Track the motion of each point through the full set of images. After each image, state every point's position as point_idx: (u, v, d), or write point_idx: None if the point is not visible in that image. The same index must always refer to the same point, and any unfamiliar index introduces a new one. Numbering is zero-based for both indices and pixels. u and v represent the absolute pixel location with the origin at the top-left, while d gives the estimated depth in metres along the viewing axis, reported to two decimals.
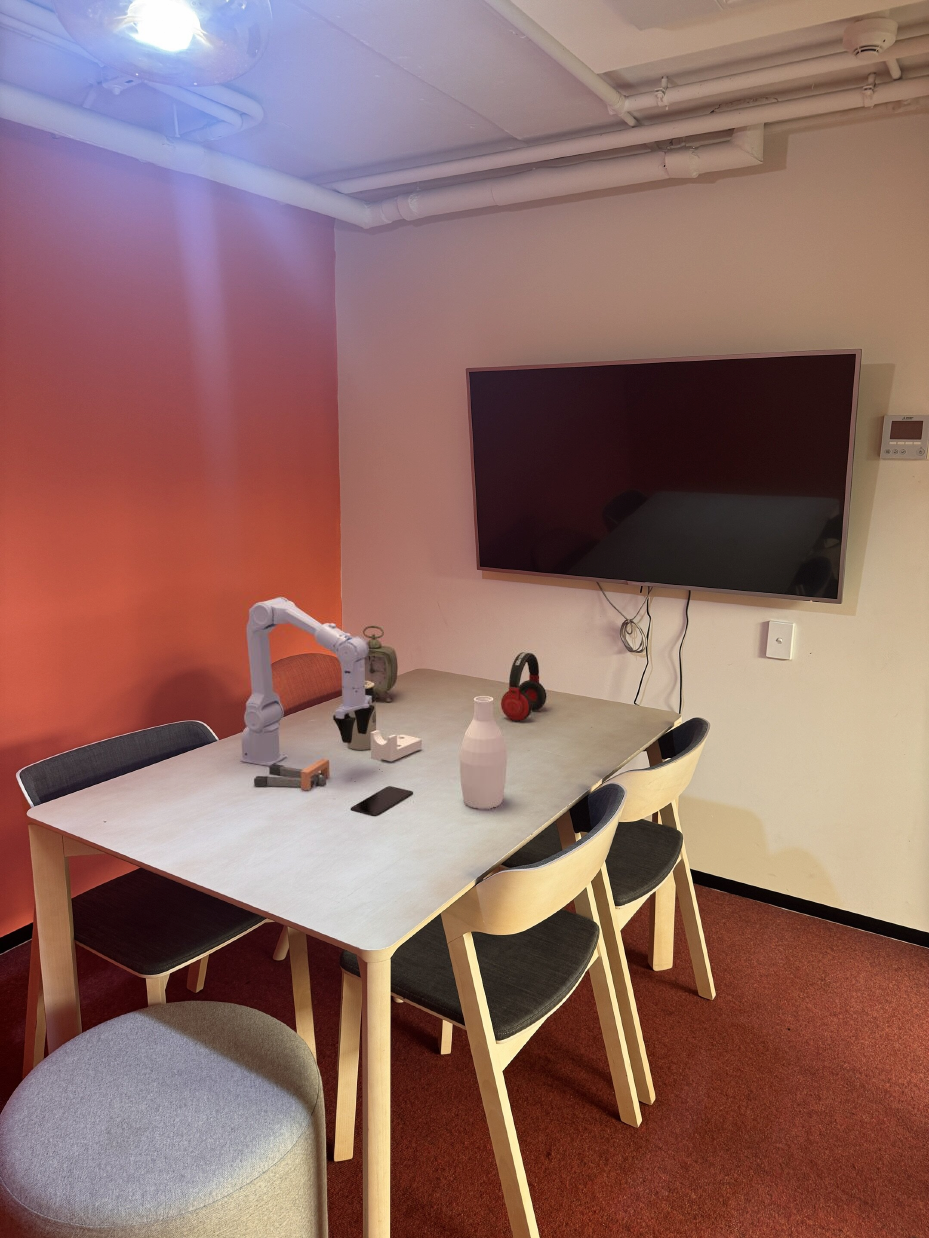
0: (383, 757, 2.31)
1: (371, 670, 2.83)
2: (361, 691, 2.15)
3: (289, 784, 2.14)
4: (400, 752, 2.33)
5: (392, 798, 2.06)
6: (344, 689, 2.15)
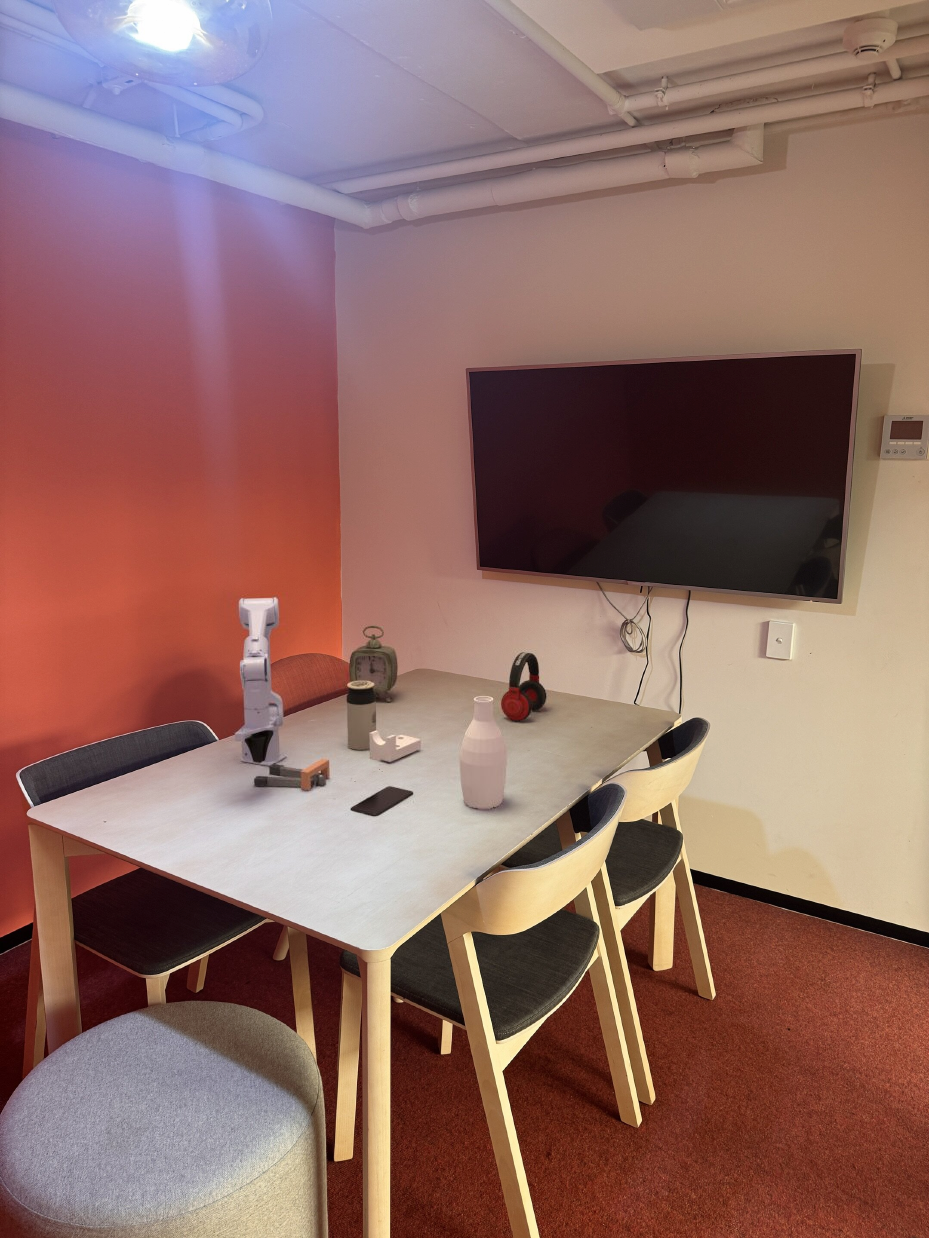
0: (382, 758, 2.31)
1: (371, 670, 2.83)
2: (264, 712, 2.04)
3: (289, 784, 2.14)
4: (399, 753, 2.32)
5: (392, 798, 2.06)
6: (246, 710, 2.03)
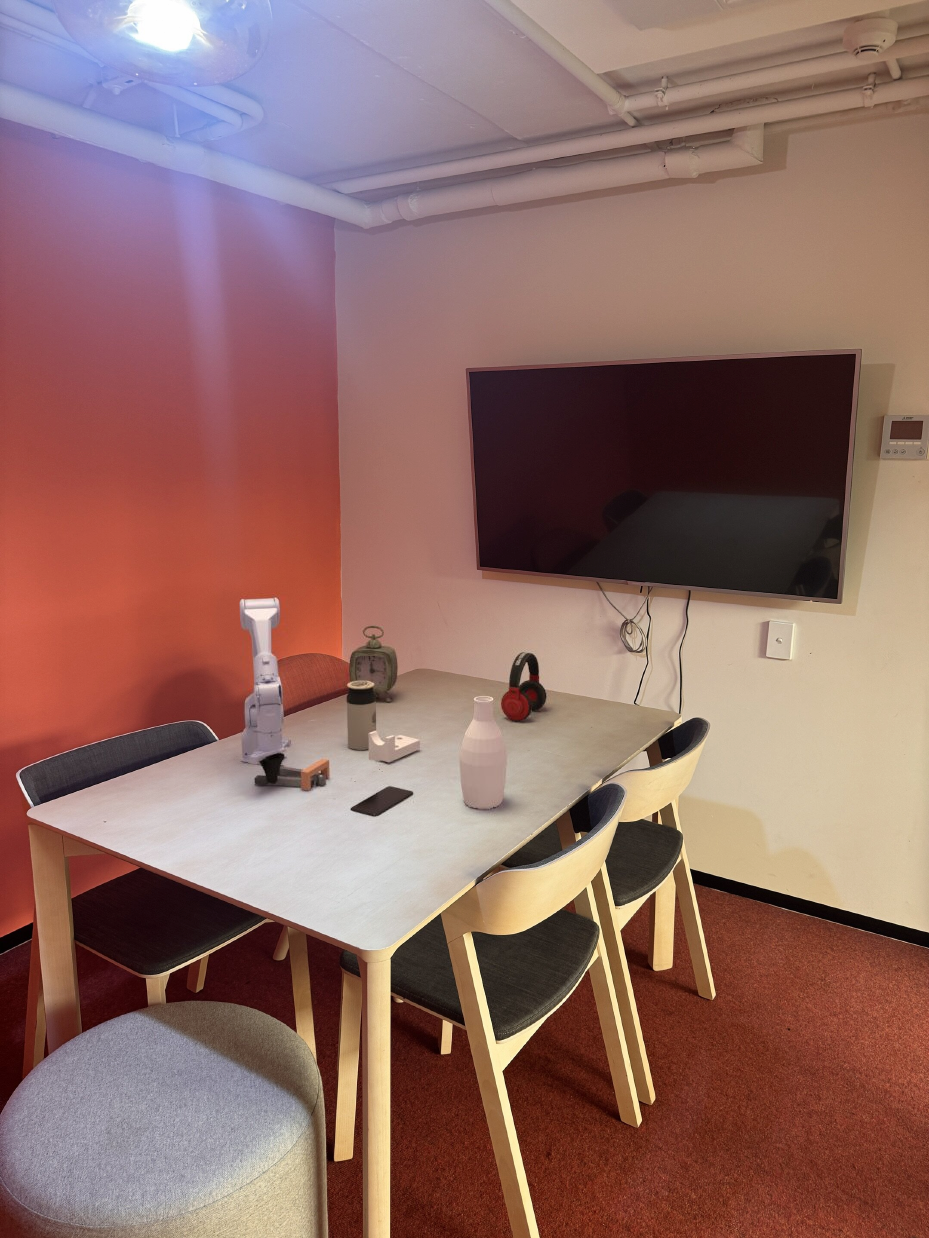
0: (381, 758, 2.31)
1: (371, 670, 2.83)
2: (277, 735, 2.09)
3: (289, 784, 2.14)
4: (398, 753, 2.32)
5: (392, 798, 2.06)
6: (259, 733, 2.09)
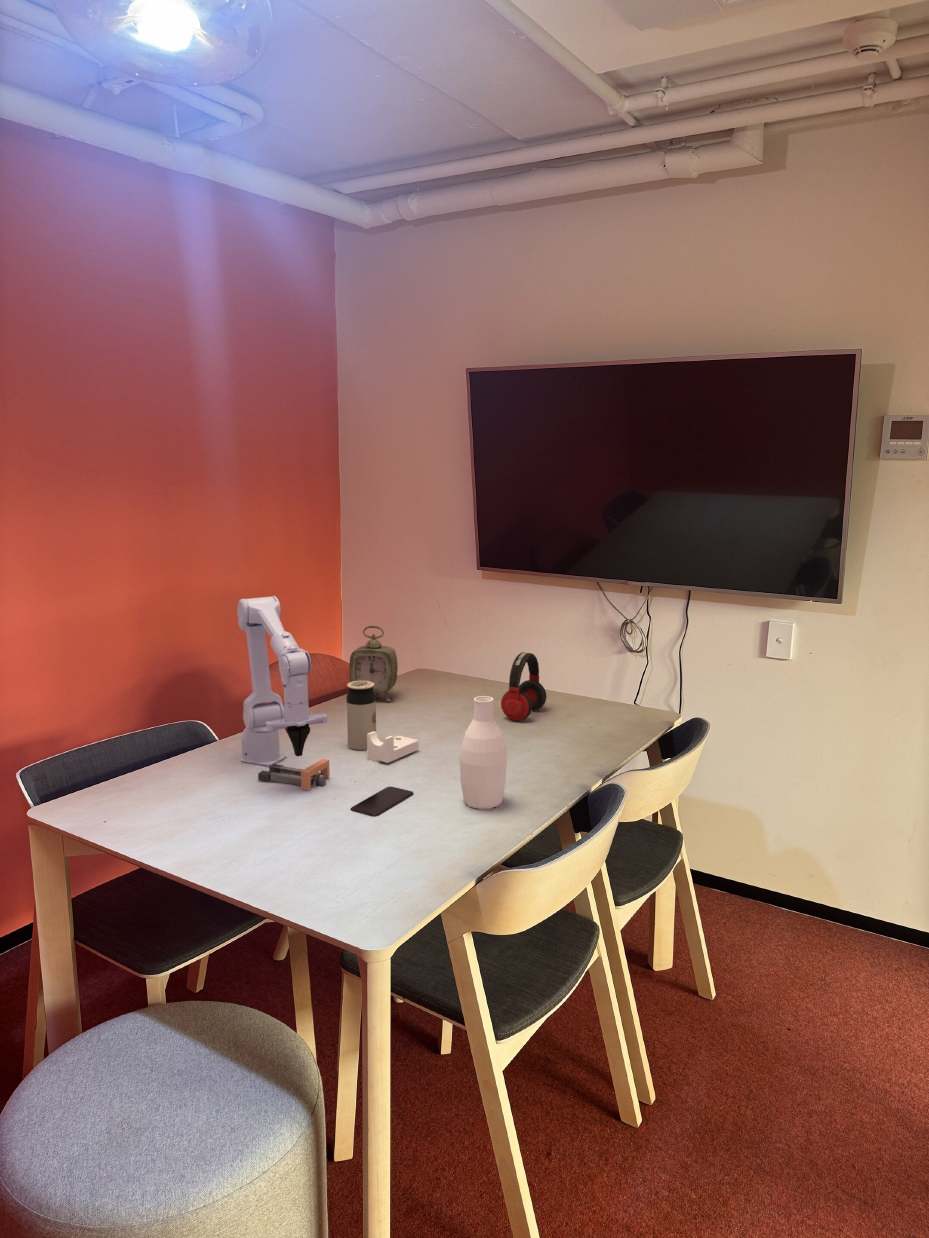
0: (379, 759, 2.30)
1: (371, 670, 2.83)
2: (296, 708, 2.07)
3: (290, 781, 2.15)
4: (397, 754, 2.32)
5: (392, 798, 2.06)
6: (284, 702, 2.09)
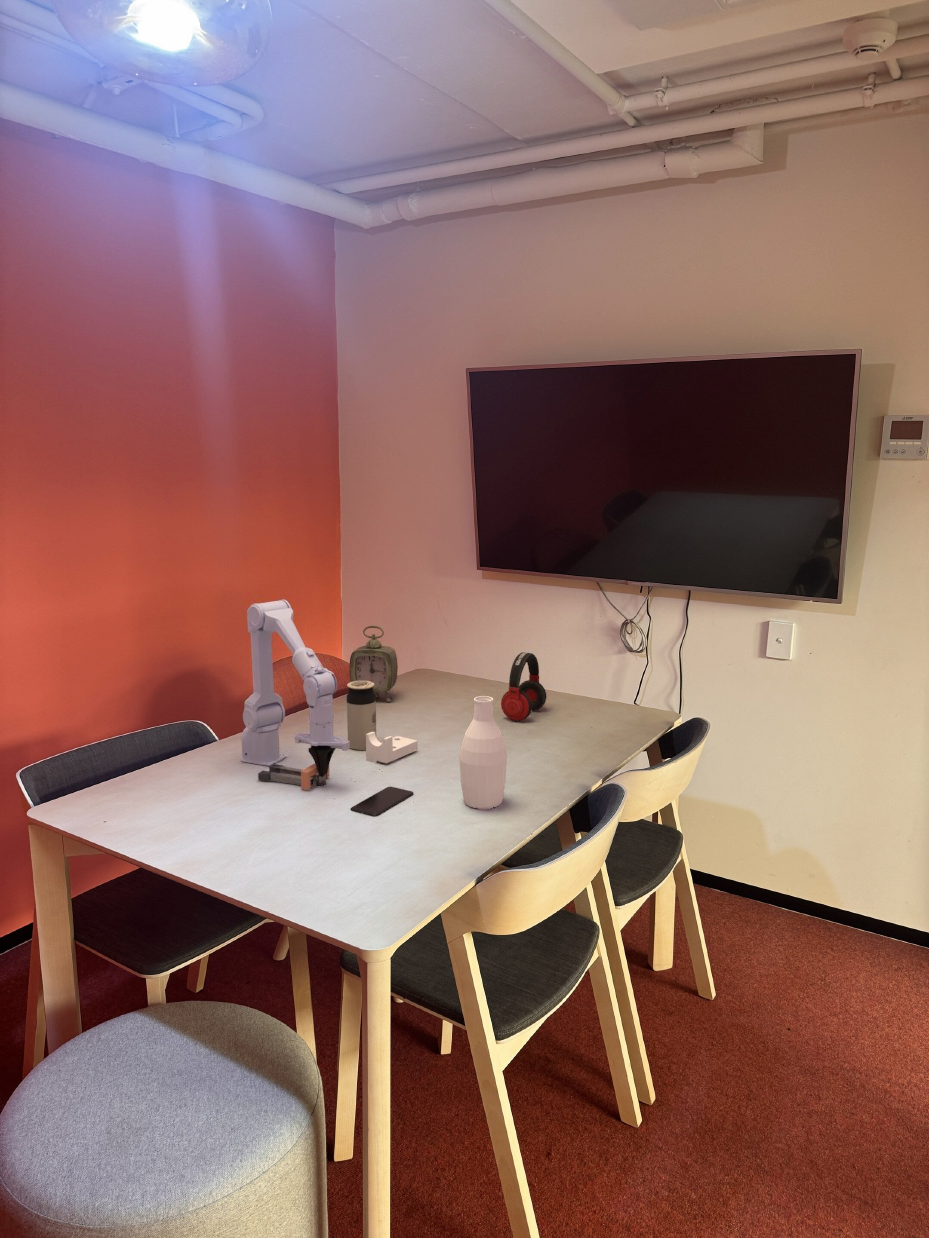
0: (378, 759, 2.30)
1: (371, 670, 2.83)
2: (312, 727, 2.10)
3: (290, 781, 2.15)
4: (395, 754, 2.31)
5: (392, 798, 2.06)
6: None
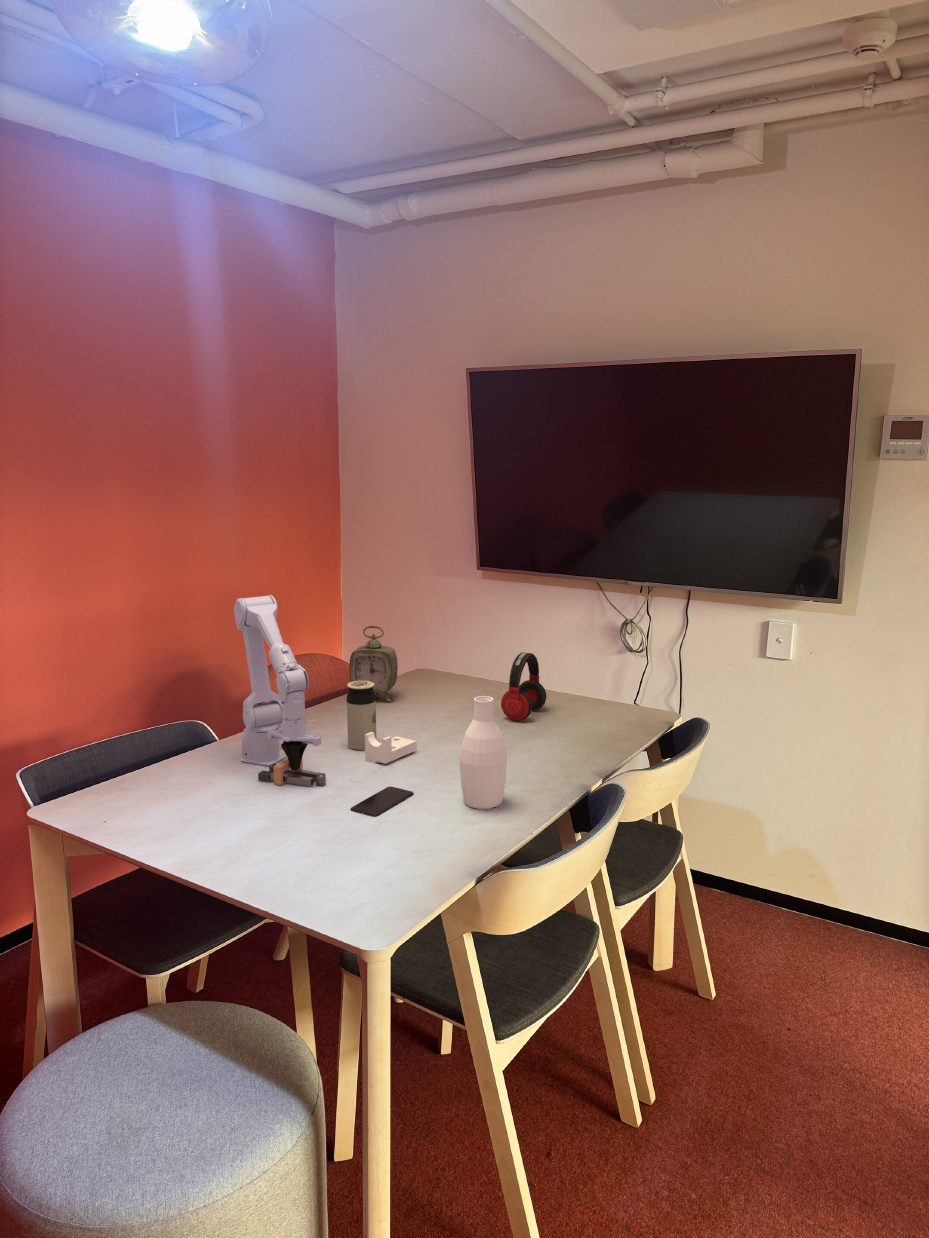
0: (377, 760, 2.30)
1: (371, 670, 2.83)
2: (284, 723, 2.13)
3: (290, 781, 2.15)
4: (394, 754, 2.31)
5: (392, 798, 2.06)
6: None
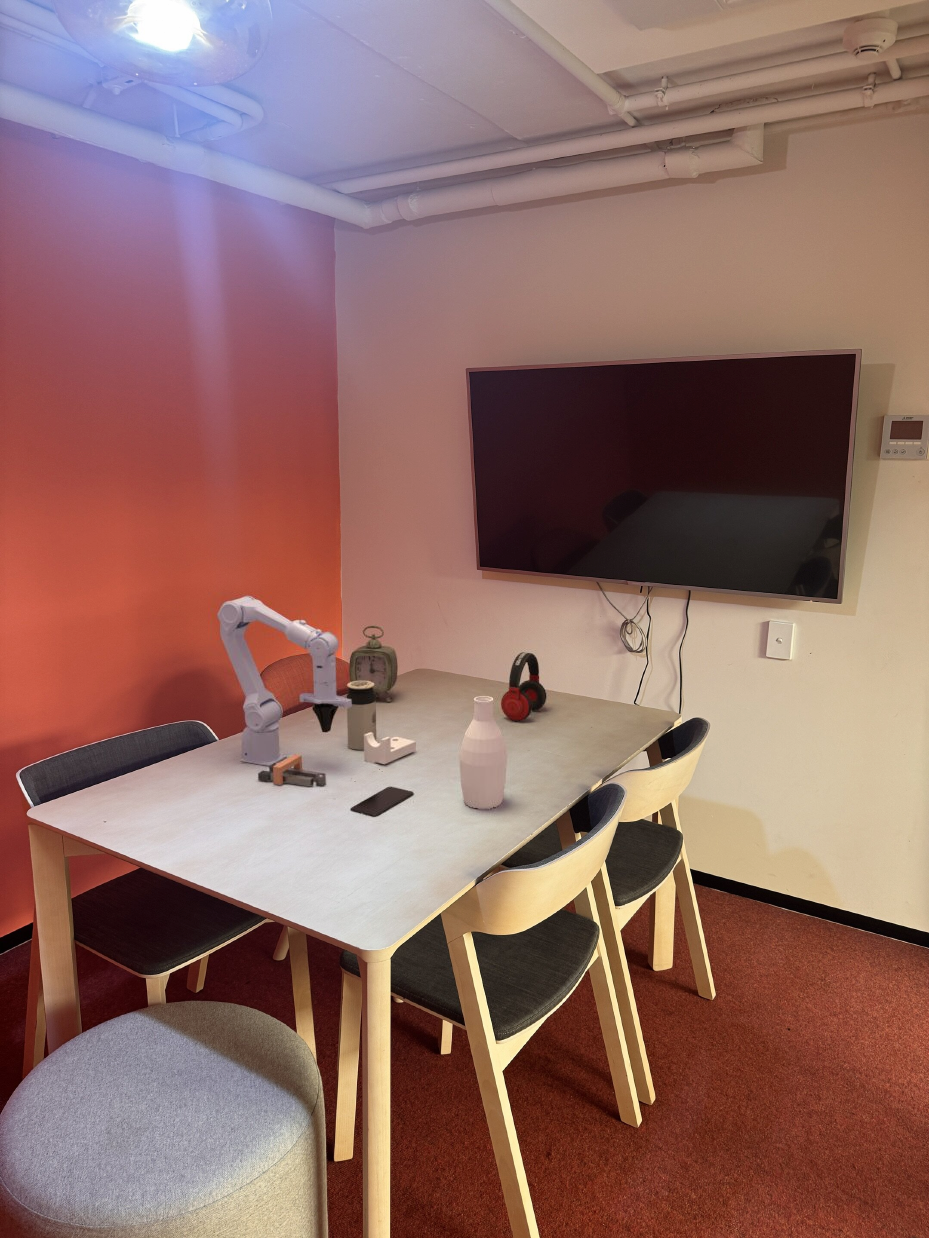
0: (376, 760, 2.29)
1: (371, 670, 2.83)
2: (316, 686, 2.21)
3: (290, 781, 2.15)
4: (393, 755, 2.31)
5: (392, 799, 2.06)
6: None
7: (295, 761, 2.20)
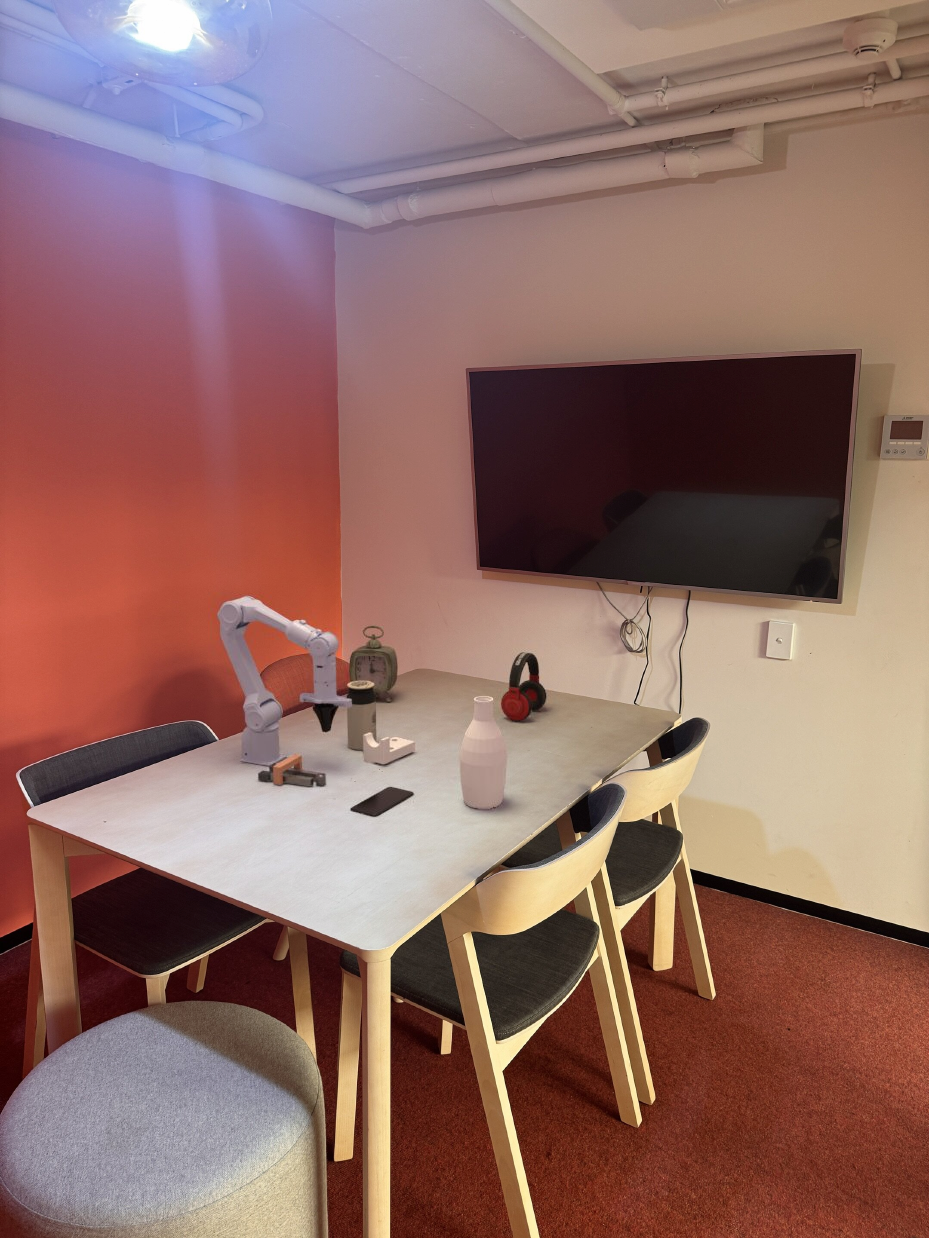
0: (375, 760, 2.29)
1: (371, 670, 2.83)
2: (316, 685, 2.21)
3: (290, 781, 2.15)
4: (393, 755, 2.30)
5: (392, 799, 2.06)
6: None
7: (295, 761, 2.20)
